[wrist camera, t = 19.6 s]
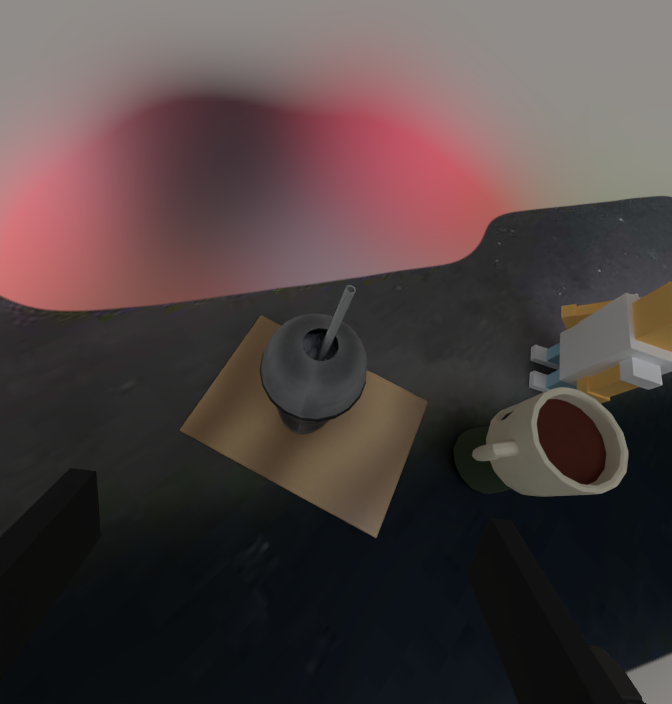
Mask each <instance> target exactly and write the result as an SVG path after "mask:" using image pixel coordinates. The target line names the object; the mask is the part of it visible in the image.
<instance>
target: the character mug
mask: <svg viewBox="0 0 672 704" xmlns="http://www.w3.org/2000/svg"><path fill="white" fill-rule="evenodd" d="M453 452H454V460H455V465H456V467H457V469H458V471H459V473H460V475H461V478H462V479H463V480H464V481H465V482H466V483H467V484H468V485H469V486H470V487H471V488H472V489H474V490H476V491H479V492H481V493H484V494H491V493H498V492H502V491H507V490H510V489H514V490H515V491H517V492H519V493H521V494H524V495H532V496H566V495H589V494H602V493H604V492H606V491H608V490H610V489H612V488H615V487H617V486H618V484H619V483H620V481H621V480H622V478H623V476H624V475H625V473H626V472H627V462H628V449H627V446H626V442H625V438H624V434H623V432H622V430H621V429H620V427H619V425H618V424H617V422H616V421H615V419H614V418H613V416H612V414H611V413H610V412H609V411H608V410H607V409H605V408H604V407H603V406H602V405H601V404H600V403H599V402H598V401H597V400H596V399H594V398H593V397H591V396H589V395H587V394H585V393H584V392H582V391H580V390H576V389H572V388H566V387H559V388H554V389H551V390H548V391H546V392H544V393H541V394H539V395H537V396H534V397H532V398H530V399H527V400H525V401H523V402H521V403H519V404H516V405H514V406H511V407H509V408H506V409H504V410H501V411H500V412H499V413H498V414H497V415H496V416H495V417H494V418H493V419H492V420H491V423H490V426H484V427H477V428H473V429H469V430H466V431H465V432H464V433H463V434H461V435H460V436H459V437H458V439H457V441H456V443H455V446H454V448H453Z"/></svg>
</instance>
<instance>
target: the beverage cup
mask: <svg viewBox="0 0 672 704" xmlns="http://www.w3.org/2000/svg"><path fill="white" fill-rule="evenodd" d="M355 291H356V290H355V287H353V286H351V285H349V286H347V287H346V288H345V291H344V293H343V295H342V298H341V300H340V303H339V305H338V307H337V310H336V312H335V315H334V317H332V316H330V315H325V314H318V313H314V314H306V315H300V316H298V317H295V318H293V319H291V320H289V321H287V322H286V323H284V324H283V325H282V326H281V327H280V328H279V329H278V330H276V331H275V332H274V333H273V335H272V337H271V339H270V340H269V342H268V344H267V346H266V348H265V351H264V352H263V354H262V359H261V365H260V376H261V382H262V387H263V388H264V390H265V392H266V394H267V396H268V398H269V399H270V401H271V402H272V403H273V404H274V405H275V406H276V408H277V410H278V413H279V415H280V417H281V419H282V421H283V423H284V424H285V426H286V427H287V428H288V429H290V430H291V431H293V432H295V433H297V434H309V433H313V432H314V431H316V430H318V429H320V428H321V427H322V426H324V425H325V424H326V423H327V422H328V421H329V420H331V419H335V418H337V417H338V416H340V415H342V414H344V413H345V412H347V411H349V410H350V409H351V408H352V407H353V405H354V404H355V403H356V402H357V401H358V400H359V399H360V397H361V394H362V392H363V389H364V387H365V384H366V372H367V357H366V354H365V350H364V347H363V344H362V342H361V340H360V339H359V337H358V336H357V334H356V333H355V331H354V330H353V329H351V328H350V327H349V326H348V325H347V324H345V323H344V322H343V321H342V320H343V317H344V315H345V313H346V311H347V309H348V307H349V304H350V302H351V300H352V298H353V296H354V293H355Z"/></svg>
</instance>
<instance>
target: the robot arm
mask: <svg viewBox="0 0 672 704" xmlns="http://www.w3.org/2000/svg"><path fill="white" fill-rule="evenodd" d="M100 537H101V532H100V518H99V504H98V490H97V476H96V471H89V470H80V469H72V468H70V469H69V470H68V471H67V472H66V473H65V474H64V475H63V476H62V477H61V478H60V479H59V480H58V481H57V482H56V483H55V484H54V485H53V486H52V487H51V488H50V489H49V490H48V491H47V492H46V493H45V494H44V495H43V496H42V497H41V498H40V499H39V500H38V501H37V502H36V503H35V504H34V505H33V506H31V507H30V508H29V509H28V510H27V511H26V512H25V513H24V514H23V515H22V516H21V517H20V518H19V519H18V520H17V521H16V522H15V523H14V524H13V525H12V526H11V527H10V528H9V529H8V530H7V531H6V532H5V533H4V534H3V535H2V536H1V537H0V679H1V678H2V676H3V675H4V673H5V672H6V671H7V669H8V668H9V666H10V665H11V663H12V662H13V661H14V659H15V658H16V656H17V655H18V653H19V652H20V651H21V649H22V648H23V646H24V645H25V643H26V642H27V641H28V639H29V638H30V636H31V635H32V634H33V632H34V631H35V629H36V628H37V626H38V625H39V624H40V622H41V621H42V619H43V618H44V616H45V615H46V614H47V612H48V611H49V609H50V608H51V607H52V605H53V604H54V602H55V601H56V599H57V598H58V597H59V595H60V594H61V592H62V591H63V589H64V588H65V587H66V585H67V584H68V582H69V581H70V580H71V578H72V577H73V575H74V574H75V572H76V571H77V570H78V568H79V567H80V565H81V564H82V562H83V561H84V560H85V558H86V557H87V555H88V554H89V553H90V551H91V550H92V548H93V547H94V545H95V544H96V543H97V541H98V540H99V538H100ZM466 574H467V577H468V579H469V582H470V584H471V587H472V589H473V591H474V594H475V596H476V599H477V601H478V604H479V606H480V609H481V611H482V614H483V616H484V619H485V621H486V624H487V626H488V629H489V631H490V634H491V636H492V639H493V641H494V644H495V646H496V649H497V651H498V654H499V656H500V659H501V661H502V664H503V666H504V669H505V671H506V674H507V676H508V679H509V681H510V684H511V686H512V689H513V691H514V693H515V696H516V698H517V701H518V703H519V704H646V703H644V702H643V701H642V697H641V695H640V694H639V692H638V691H637V689H636V688H635V686H634V685H633V683H632V682H631V680H630V679H629V677H628V676H627V674H626V673H625V671H624V670H623V669H622V668H621V667H620V666H619V665H618V663H617V662H616V661H615V660H614V659H613V658H612V657H611V656H610V655H609V654H608V653H607V652H606V651H605V650H604V649H603V648H602V647H600V646H589V645H588V643H587V641H586V640H585V638H584V637H583V635H582V633H581V632H580V630H579V629H578V627H577V625H576V624H575V622H574V621H573V619H572V617H571V616H570V614H569V613H568V611H567V609H566V608H565V606H564V605H563V603H562V601H561V600H560V598H559V596H558V595H557V593H556V592H555V590H554V588H553V587H552V585H551V584H550V582H549V580H548V579H547V577H546V576H545V574H544V572H543V571H542V569H541V568H540V566H539V564H538V563H537V561H536V560H535V558H534V556H533V555H532V553H531V551H530V550H529V548H528V547H527V545H526V543H525V542H524V540H523V539H522V537H521V535H520V534H519V532H518V531H517V529H516V527H515V526H514V524H513V523H512V521H511V520H502V519H494V518H491V519H490V521H489V523H488V525H487V528H486V530H485V532H484V535H483V537H482V539H481V541H480V544H479V546H478V548H477V551H476V553H475V555H474V557H473V560H472V562H471V564H470V567H469V569H468V571H467V573H466Z"/></svg>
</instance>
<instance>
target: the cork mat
mask: <svg viewBox="0 0 672 704" xmlns="http://www.w3.org/2000/svg"><path fill="white" fill-rule="evenodd" d="M280 327H281V325H279V324H277V323H275V322H273V321H271V320H269V319H267V318H266V317H264V316H262V315H261V316H260V317H259V318H258V320H257V321H256V323H255V324H254V325H253V327H252V328H251V330H250V331H249V333H248V334H247V335H246V337H245V338H244V340H243V341H242V342H241V344H240V345H239V347H238V348H237V350H236V351H235V352H234V354H233V355H232V357H231V358H230V359H229V361H228V362H227V364H226V365H225V367H224V368H223V369H222V371H221V372H220V374H219V375H218V376H217V378H216V379H215V381H214V382H213V384H212V385H211V386H210V388H209V389H208V391H207V392H206V393H205V395H204V396H203V398H202V399H201V400H200V402H199V403H198V405H197V406H196V408H195V409H194V410H193V412H192V413H191V415H190V416H189V417H188V419H187V420H186V422H185V423H184V425H183V426H182V427H181V429H180V431H181V432H182V433H184V434H186V435H188V436H190V437H192V438H193V439H195V440H197V441H199V442H201V443H203V444H204V445H206V446H208V447H210V448H212V449H214V450H215V451H217V452H219V453H221V454H223V455H224V456H226V457H228V458H230V459H232V460H234V461H235V462H237V463H239V464H241V465H243V466H245V467H246V468H248V469H250V470H252V471H254V472H256V473H257V474H259V475H261V476H263V477H265V478H266V479H268V480H270V481H272V482H274V483H276V484H277V485H279V486H281V487H283V488H285V489H287V490H288V491H290V492H292V493H294V494H296V495H298V496H299V497H301V498H303V499H305V500H307V501H308V502H310V503H312V504H314V505H316V506H318V507H319V508H321V509H323V510H325V511H327V512H329V513H330V514H332V515H334V516H336V517H338V518H340V519H341V520H343V521H345V522H347V523H349V524H351V525H352V526H354V527H356V528H358V529H360V530H361V531H363V532H365V533H367V534H369V535H371V536H372V537H374V538H377V535H378V533H379V530H380V527H381V525H382V522H383V519H384V517H385V514H386V512H387V509H388V506H389V504H390V501H391V498H392V496H393V493H394V491H395V488H396V485H397V483H398V480H399V477H400V475H401V472H402V470H403V467H404V464H405V462H406V459H407V456H408V454H409V451H410V449H411V446H412V443H413V441H414V438H415V435H416V433H417V430H418V428H419V425H420V422H421V420H422V417H423V414H424V412H425V409H426V407H427V404H428V401H426V400H424V399H422V398H420V397H418V396H416V395H415V394H413V393H411V392H409V391H407V390H405V389H403V388H401V387H399V386H397V385H395V384H393V383H391V382H389V381H387V380H385V379H384V378H382V377H380V376H378V375H376V374H374V373H372V372H370V371H368V370H367V372H366V384H365V387H364V389H363V392H362V394H361V397H360V399H359V400H358V401H357V402H356V403H355V404H354V405H353V407H352V408H351V409H350V410H349V411H347V412H345V413H344V414H342V415H340V416H338V417H337V418H335V419H331V420H329V421H328V422H327V423H326V424H325V425H324V426H322V427H321V428H320V429H318V430H316V431H314V432H313V433H309V434H297V433H295V432H293V431H291V430H290V429H288V428H287V427H286V426H285V424H284V423H283V421H282V419H281V417H280V415H279V413H278V410H277V408H276V406H275V405H274V404H273V403H272V402H271V401H270V399H269V398H268V396H267V394H266V392H265V390H264V388H263V387H262V382H261V376H260V365H261V359H262V354H263V352H264V351H265V348H266V346H267V344H268V342H269V340H270V339H271V337H272V335H273V333H274V332H275V331H276V330H278V329H279V328H280Z"/></svg>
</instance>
